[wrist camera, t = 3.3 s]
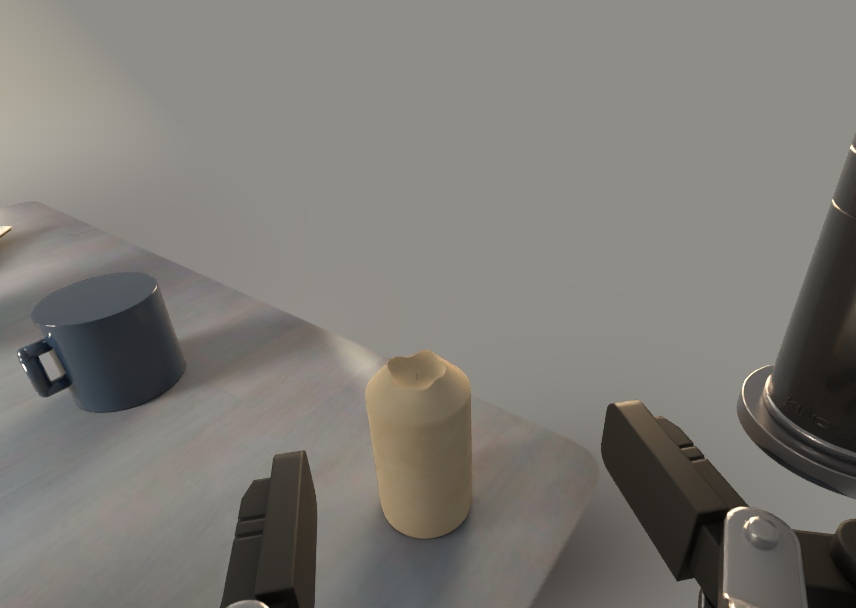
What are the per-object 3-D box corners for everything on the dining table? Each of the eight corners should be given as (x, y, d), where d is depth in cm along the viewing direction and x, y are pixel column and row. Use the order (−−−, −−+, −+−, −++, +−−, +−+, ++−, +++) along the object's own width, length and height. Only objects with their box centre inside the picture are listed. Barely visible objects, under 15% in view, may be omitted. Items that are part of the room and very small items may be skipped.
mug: (156, 339, 48) (127, 264, 44) (205, 370, 44) (177, 288, 40) (31, 399, 41) (-16, 315, 37) (74, 443, 36) (25, 352, 33)
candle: (364, 521, 29) (340, 385, 25) (406, 455, 34) (393, 328, 29) (451, 554, 27) (445, 413, 22) (484, 479, 32) (485, 347, 27)
